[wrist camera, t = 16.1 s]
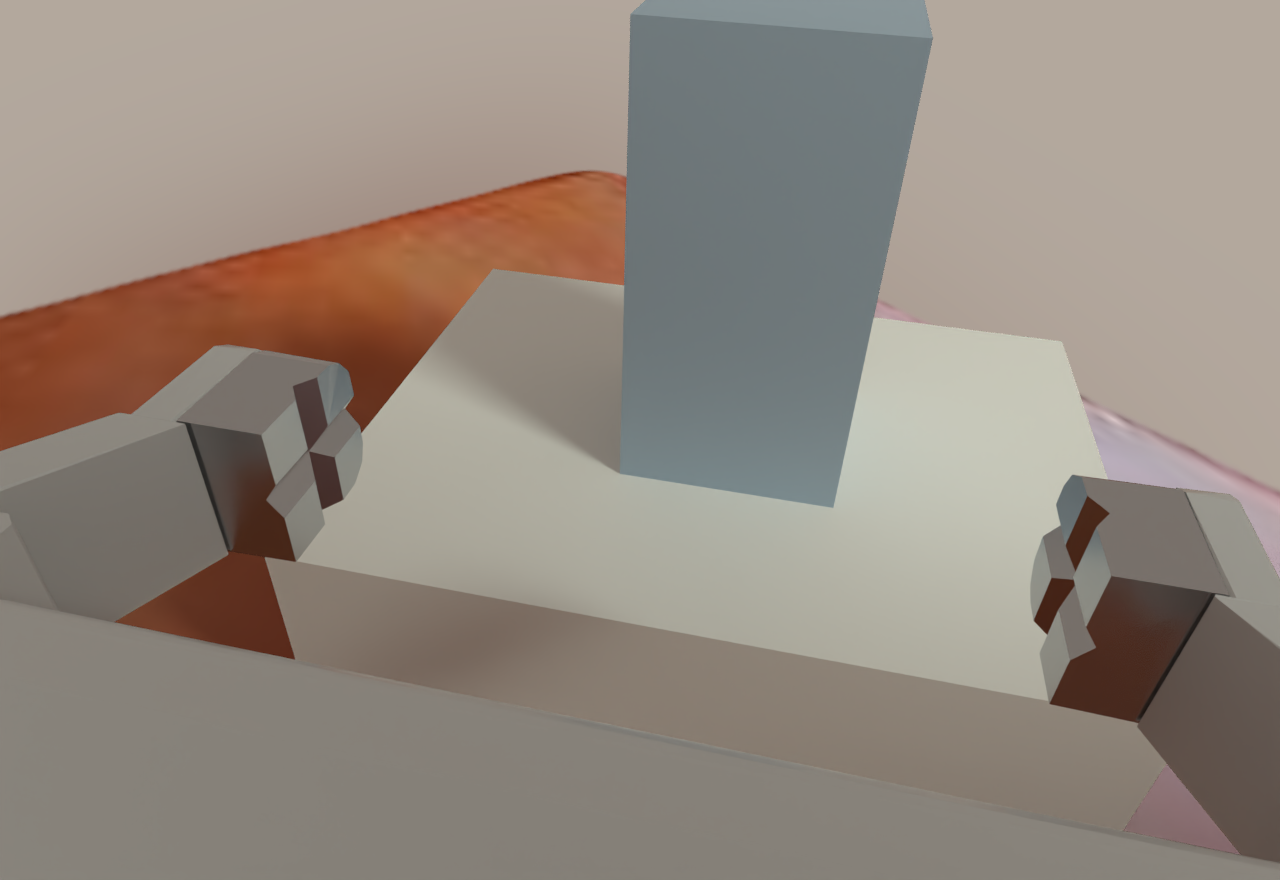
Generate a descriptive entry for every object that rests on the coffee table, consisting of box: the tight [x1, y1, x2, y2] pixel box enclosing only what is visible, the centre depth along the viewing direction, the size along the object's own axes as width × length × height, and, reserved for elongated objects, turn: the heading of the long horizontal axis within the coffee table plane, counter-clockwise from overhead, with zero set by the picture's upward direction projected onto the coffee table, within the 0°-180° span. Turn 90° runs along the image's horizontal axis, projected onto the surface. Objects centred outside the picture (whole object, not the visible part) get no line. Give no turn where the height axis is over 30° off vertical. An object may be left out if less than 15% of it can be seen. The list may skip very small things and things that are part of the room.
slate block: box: [620, 0, 933, 508], centre depth 20 cm, size 5×5×10 cm
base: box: [265, 269, 1167, 831], centre depth 25 cm, size 18×14×6 cm
